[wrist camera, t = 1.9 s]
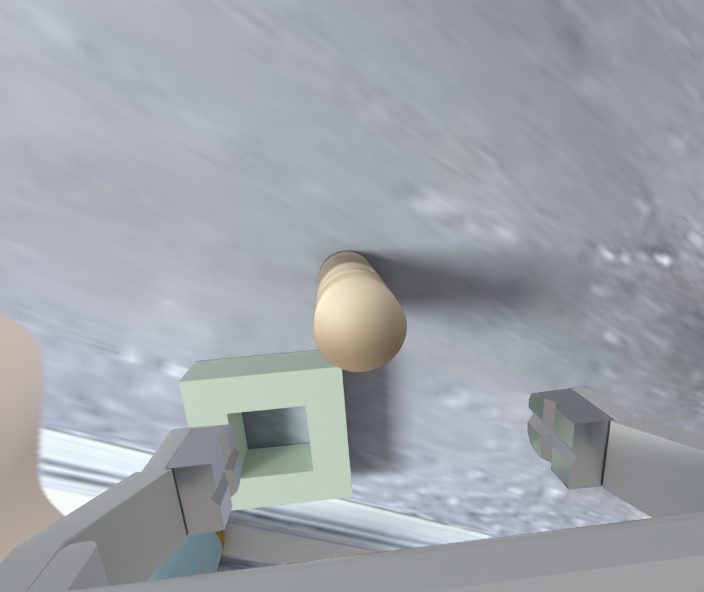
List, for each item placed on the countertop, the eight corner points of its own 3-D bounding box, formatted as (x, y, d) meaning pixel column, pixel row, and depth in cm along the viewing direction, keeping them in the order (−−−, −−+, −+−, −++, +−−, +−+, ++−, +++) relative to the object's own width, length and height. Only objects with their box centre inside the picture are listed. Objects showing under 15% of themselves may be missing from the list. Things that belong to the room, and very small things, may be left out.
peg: (316, 252, 27) (309, 288, 16) (372, 248, 27) (405, 280, 16) (321, 306, 28) (318, 376, 17) (375, 301, 29) (408, 367, 17)
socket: (195, 361, 29) (178, 382, 25) (339, 347, 29) (341, 366, 26) (220, 480, 32) (207, 513, 28) (349, 466, 32) (352, 496, 29)
